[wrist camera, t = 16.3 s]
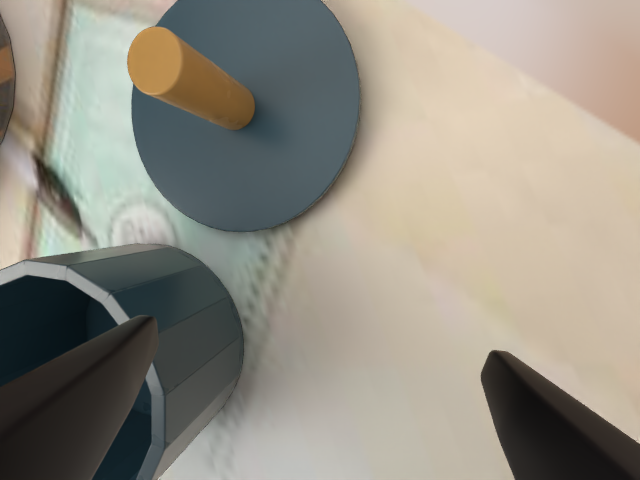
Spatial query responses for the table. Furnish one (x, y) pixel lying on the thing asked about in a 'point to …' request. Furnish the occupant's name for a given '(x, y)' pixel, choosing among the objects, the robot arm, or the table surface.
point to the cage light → (5, 79)
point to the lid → (244, 108)
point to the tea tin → (114, 309)
